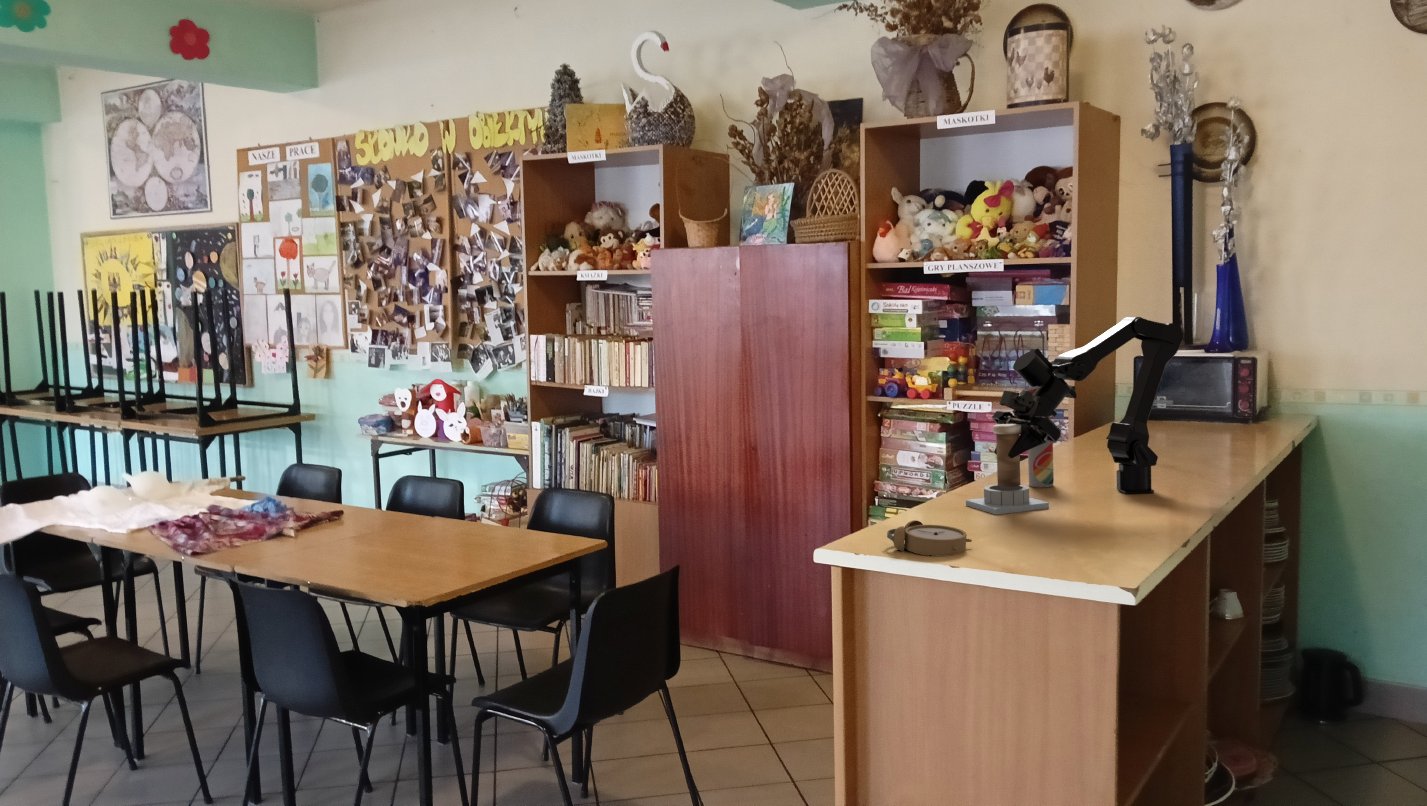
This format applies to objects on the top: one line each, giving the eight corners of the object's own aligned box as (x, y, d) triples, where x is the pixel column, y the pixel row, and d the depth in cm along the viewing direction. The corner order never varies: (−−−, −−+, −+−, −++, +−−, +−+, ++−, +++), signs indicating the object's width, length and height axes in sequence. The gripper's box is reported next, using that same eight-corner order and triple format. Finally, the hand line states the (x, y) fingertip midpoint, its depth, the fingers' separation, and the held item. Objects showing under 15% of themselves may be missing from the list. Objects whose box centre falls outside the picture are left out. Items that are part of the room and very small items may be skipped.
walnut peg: (1024, 482, 235) (1022, 423, 234) (1022, 487, 229) (1020, 427, 228) (996, 482, 237) (994, 424, 236) (993, 487, 231) (991, 427, 230)
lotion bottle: (1055, 487, 253) (1053, 403, 251) (1030, 487, 254) (1028, 404, 252) (1052, 483, 258) (1050, 400, 256) (1027, 483, 259) (1025, 401, 257)
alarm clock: (955, 543, 190) (878, 523, 198) (951, 570, 191) (875, 548, 199) (976, 530, 199) (902, 511, 207) (973, 555, 200) (899, 536, 208)
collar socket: (1016, 499, 241) (1016, 480, 240) (1048, 508, 229) (1048, 488, 229) (966, 505, 237) (965, 486, 237) (995, 514, 226) (995, 495, 225)
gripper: (998, 374, 241) (956, 427, 239) (1047, 379, 223) (1003, 436, 221) (1029, 406, 244) (988, 459, 242) (1080, 413, 226) (1036, 470, 224)
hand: (1002, 455), depth 232 cm, fingers closed on walnut peg, 5 cm apart
